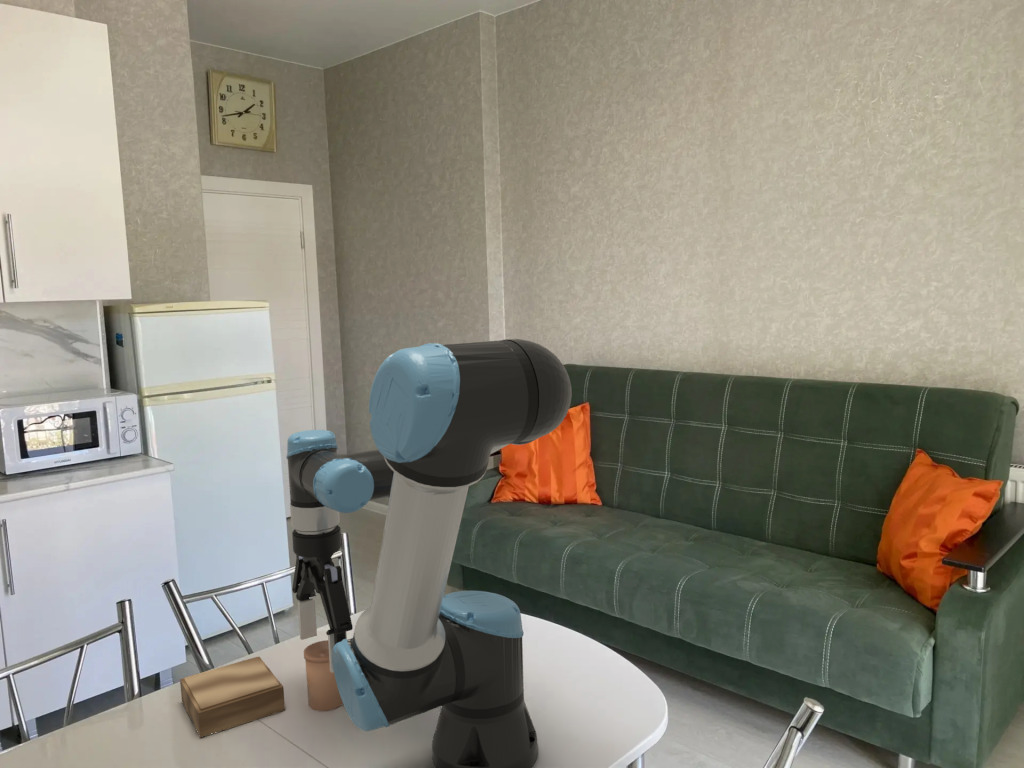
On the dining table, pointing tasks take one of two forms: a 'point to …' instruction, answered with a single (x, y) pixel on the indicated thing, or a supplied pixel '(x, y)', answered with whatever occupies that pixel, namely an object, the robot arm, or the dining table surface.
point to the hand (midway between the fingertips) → (323, 652)
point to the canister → (320, 678)
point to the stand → (231, 695)
